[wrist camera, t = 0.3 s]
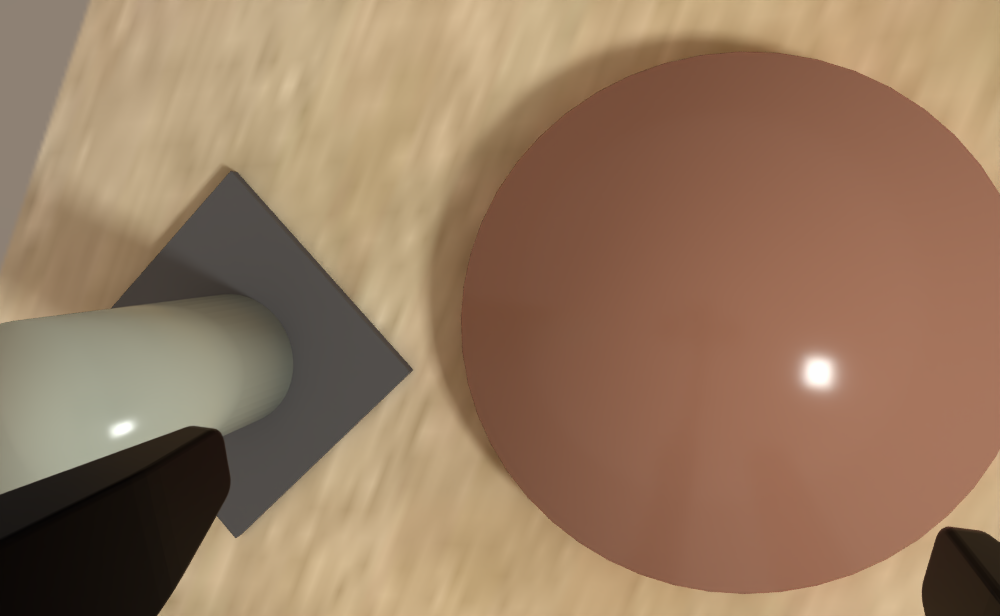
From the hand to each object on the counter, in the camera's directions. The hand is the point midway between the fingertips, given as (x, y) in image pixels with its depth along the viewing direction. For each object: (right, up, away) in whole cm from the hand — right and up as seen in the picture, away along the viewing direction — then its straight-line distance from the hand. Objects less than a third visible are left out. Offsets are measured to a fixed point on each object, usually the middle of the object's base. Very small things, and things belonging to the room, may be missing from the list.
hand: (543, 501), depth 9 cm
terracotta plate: (+7, +2, +14) cm, 16 cm away
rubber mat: (-11, 0, +18) cm, 21 cm away
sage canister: (-11, 0, +18) cm, 21 cm away
